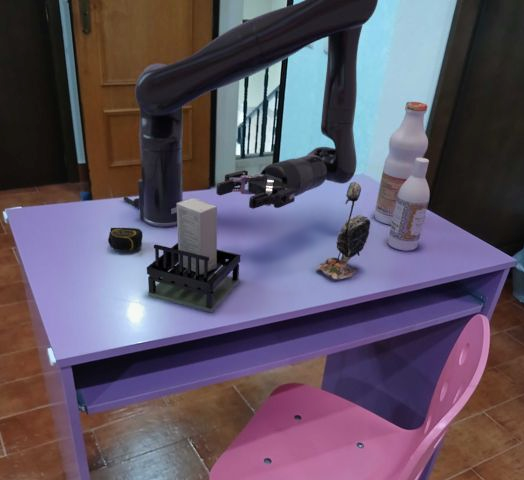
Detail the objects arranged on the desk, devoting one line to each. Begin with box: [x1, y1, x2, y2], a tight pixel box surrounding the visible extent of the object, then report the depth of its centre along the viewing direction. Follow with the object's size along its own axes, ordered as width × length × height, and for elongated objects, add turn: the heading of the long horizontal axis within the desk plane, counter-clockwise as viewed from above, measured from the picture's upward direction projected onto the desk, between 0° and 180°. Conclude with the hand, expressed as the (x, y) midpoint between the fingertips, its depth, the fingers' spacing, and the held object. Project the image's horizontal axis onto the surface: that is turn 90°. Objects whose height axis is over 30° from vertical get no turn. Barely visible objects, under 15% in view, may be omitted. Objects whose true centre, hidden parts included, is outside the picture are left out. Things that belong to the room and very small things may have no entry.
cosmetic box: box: [176, 197, 218, 275], centre depth 101 cm, size 6×4×12 cm
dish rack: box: [146, 242, 242, 314], centre depth 104 cm, size 13×13×10 cm
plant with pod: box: [315, 181, 373, 281], centre depth 112 cm, size 8×11×20 cm
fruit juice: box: [374, 101, 429, 226], centre depth 136 cm, size 9×9×28 cm
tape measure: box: [107, 227, 143, 252], centre depth 118 cm, size 7×7×4 cm
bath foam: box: [387, 157, 431, 252], centre depth 125 cm, size 7×7×20 cm
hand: (234, 196), depth 105 cm, fingers open, 8 cm apart
